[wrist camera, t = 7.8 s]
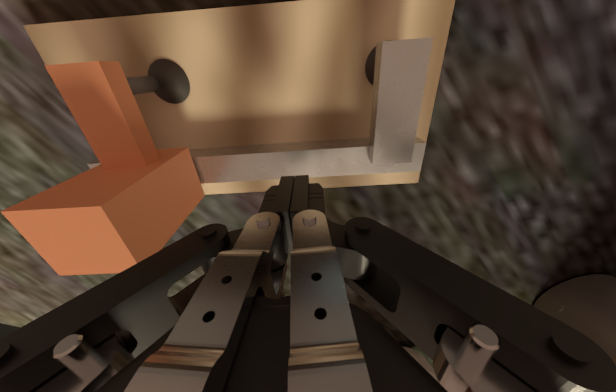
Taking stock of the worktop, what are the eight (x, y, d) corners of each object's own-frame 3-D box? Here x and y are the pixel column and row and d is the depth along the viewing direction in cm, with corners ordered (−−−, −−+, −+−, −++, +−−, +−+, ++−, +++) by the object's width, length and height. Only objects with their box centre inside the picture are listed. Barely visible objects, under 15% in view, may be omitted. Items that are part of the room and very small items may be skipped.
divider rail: (429, 41, 13) (461, 35, 11) (409, 160, 17) (428, 178, 14) (64, 70, 14) (5, 72, 12) (122, 177, 18) (88, 197, 15)
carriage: (176, 61, 14) (4, 56, 6) (214, 183, 18) (142, 271, 10) (113, 66, 14) (-133, 67, 6) (166, 186, 18) (59, 275, 10)
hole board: (446, -8, 13) (459, -15, 12) (412, 176, 19) (418, 183, 18) (44, 28, 14) (21, 25, 13) (132, 192, 20) (121, 199, 19)
